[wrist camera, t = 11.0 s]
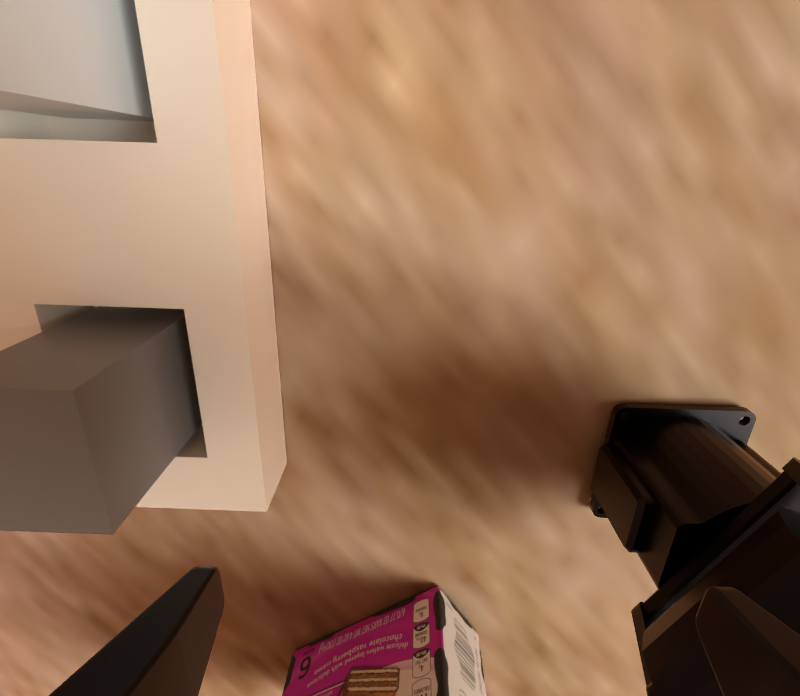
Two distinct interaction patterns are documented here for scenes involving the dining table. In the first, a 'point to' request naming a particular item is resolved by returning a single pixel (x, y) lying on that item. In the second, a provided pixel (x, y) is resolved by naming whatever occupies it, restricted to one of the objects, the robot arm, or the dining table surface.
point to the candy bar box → (394, 655)
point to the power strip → (162, 239)
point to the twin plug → (93, 417)
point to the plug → (73, 59)
